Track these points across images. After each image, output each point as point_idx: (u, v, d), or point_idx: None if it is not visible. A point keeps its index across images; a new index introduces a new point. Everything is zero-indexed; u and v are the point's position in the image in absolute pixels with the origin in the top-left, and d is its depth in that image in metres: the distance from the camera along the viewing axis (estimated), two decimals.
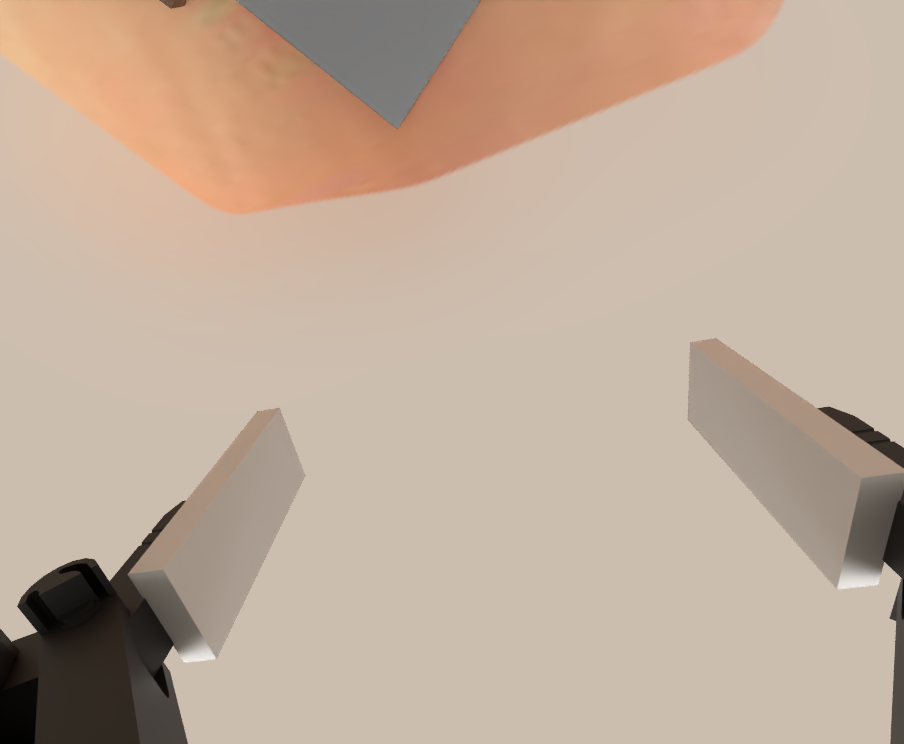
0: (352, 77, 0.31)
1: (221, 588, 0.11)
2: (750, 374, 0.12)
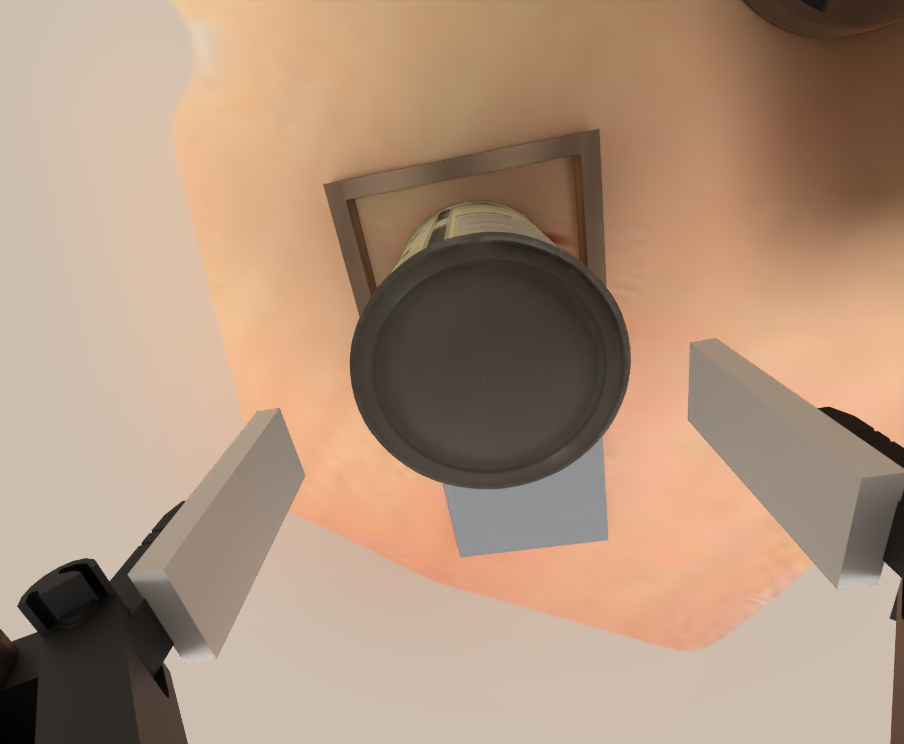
0: (461, 517, 0.37)
1: (221, 588, 0.11)
2: (750, 374, 0.12)
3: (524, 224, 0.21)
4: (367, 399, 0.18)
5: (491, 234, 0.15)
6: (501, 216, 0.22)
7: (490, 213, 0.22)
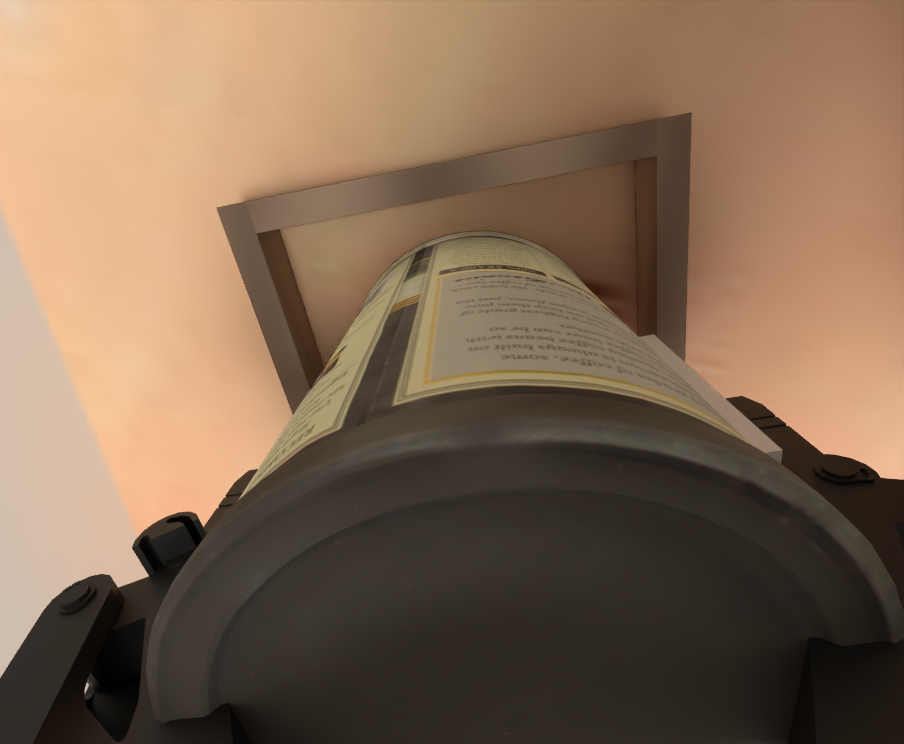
0: None
1: None
2: (674, 367, 0.13)
3: (575, 295, 0.11)
4: None
5: (539, 421, 0.05)
6: (527, 277, 0.11)
7: (504, 267, 0.12)
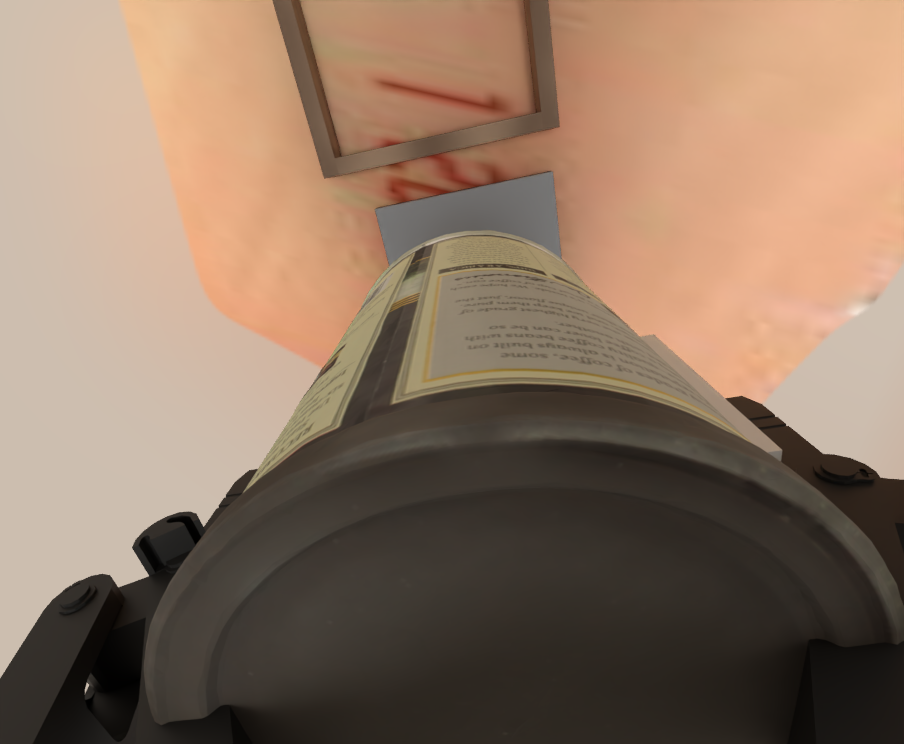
0: None
1: None
2: (674, 367, 0.13)
3: (574, 294, 0.11)
4: None
5: (538, 419, 0.05)
6: (527, 275, 0.11)
7: (504, 266, 0.12)
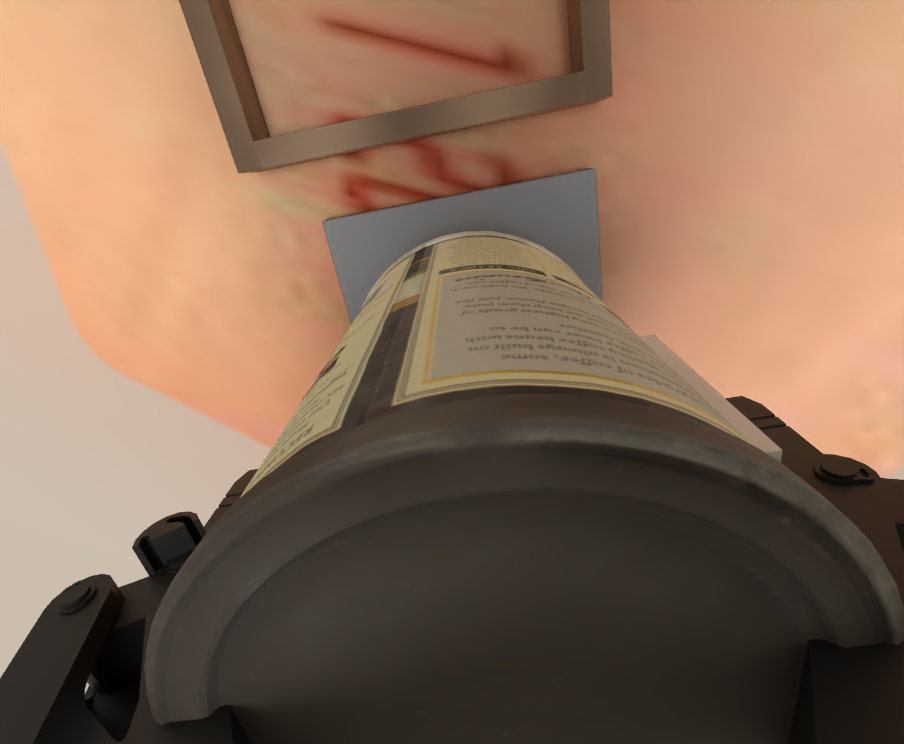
0: None
1: None
2: (674, 367, 0.13)
3: (575, 295, 0.11)
4: None
5: (539, 421, 0.05)
6: (527, 276, 0.11)
7: (504, 267, 0.12)
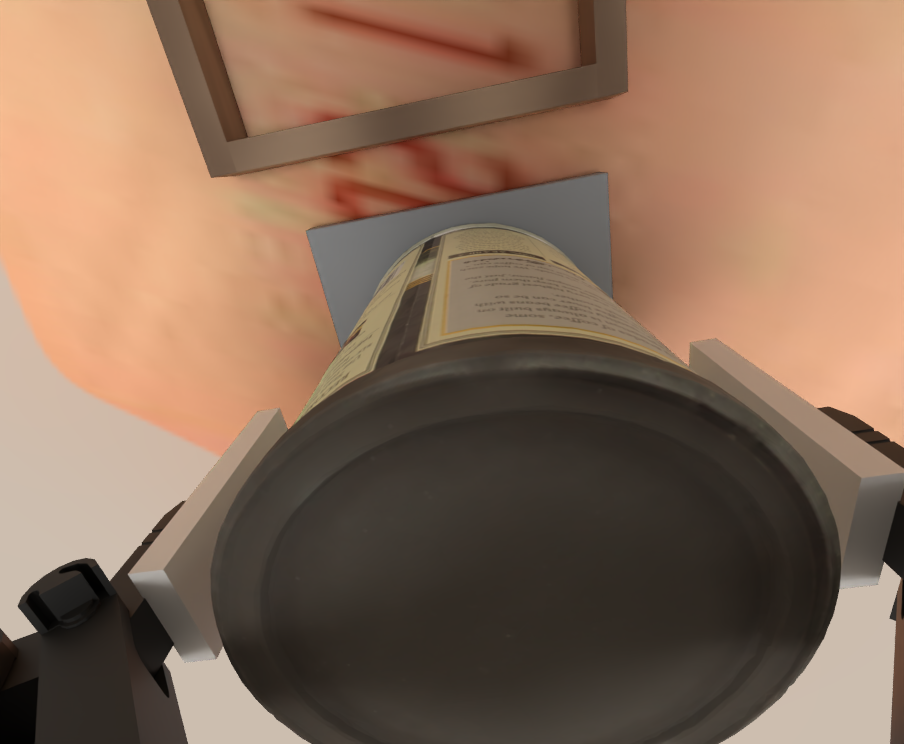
0: None
1: None
2: (750, 374, 0.12)
3: (570, 275, 0.12)
4: (258, 668, 0.08)
5: (535, 352, 0.06)
6: (528, 259, 0.12)
7: (507, 252, 0.13)
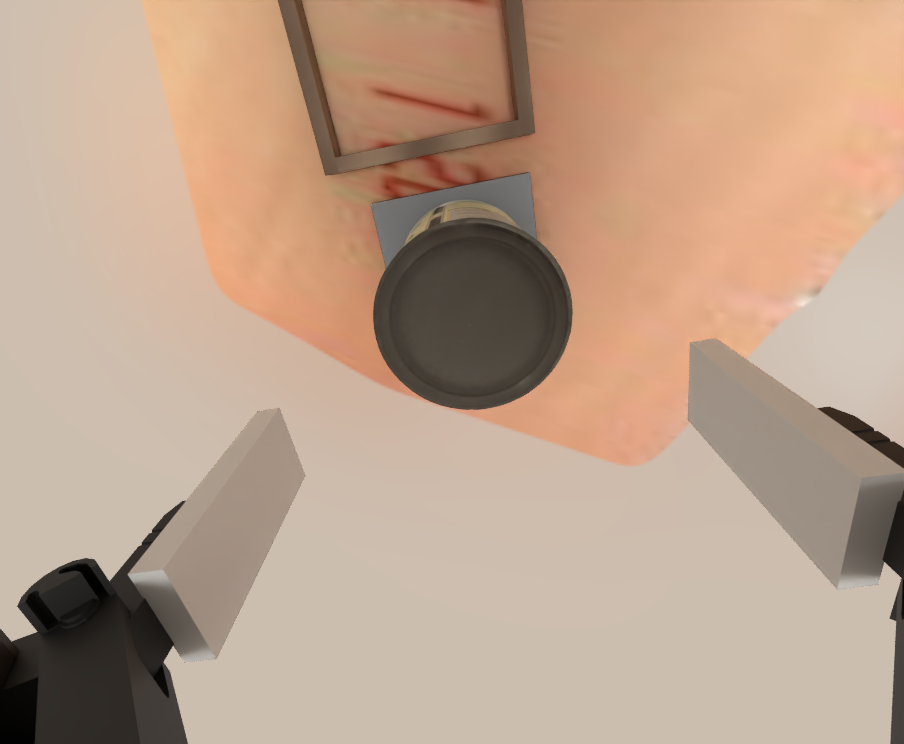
0: None
1: (221, 588, 0.11)
2: (750, 374, 0.12)
3: (499, 215, 0.28)
4: (385, 339, 0.24)
5: (472, 219, 0.22)
6: (482, 210, 0.29)
7: (474, 208, 0.29)
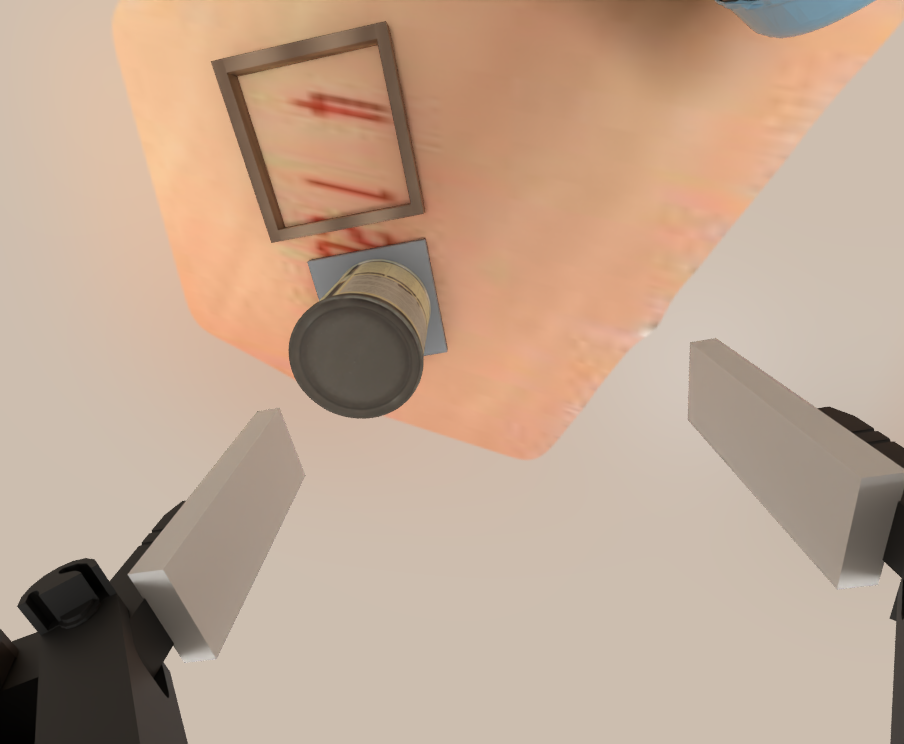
0: None
1: (221, 588, 0.11)
2: (750, 374, 0.12)
3: (387, 280, 0.40)
4: (298, 371, 0.36)
5: (349, 295, 0.34)
6: (376, 275, 0.40)
7: (372, 273, 0.41)
